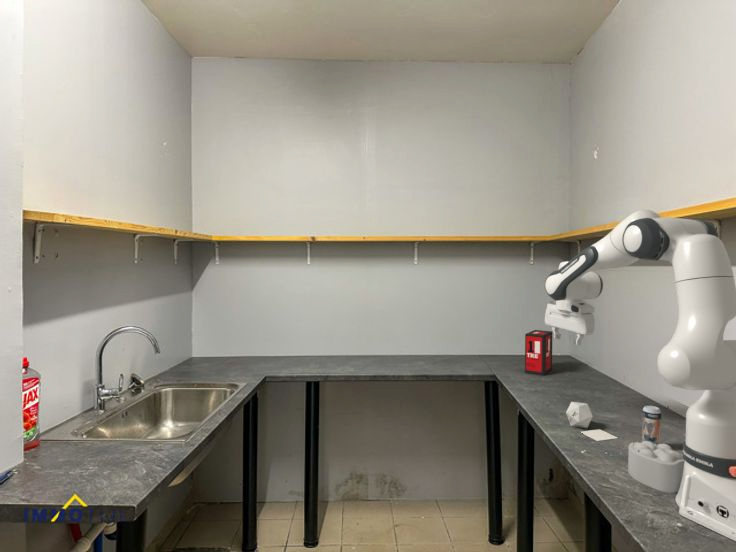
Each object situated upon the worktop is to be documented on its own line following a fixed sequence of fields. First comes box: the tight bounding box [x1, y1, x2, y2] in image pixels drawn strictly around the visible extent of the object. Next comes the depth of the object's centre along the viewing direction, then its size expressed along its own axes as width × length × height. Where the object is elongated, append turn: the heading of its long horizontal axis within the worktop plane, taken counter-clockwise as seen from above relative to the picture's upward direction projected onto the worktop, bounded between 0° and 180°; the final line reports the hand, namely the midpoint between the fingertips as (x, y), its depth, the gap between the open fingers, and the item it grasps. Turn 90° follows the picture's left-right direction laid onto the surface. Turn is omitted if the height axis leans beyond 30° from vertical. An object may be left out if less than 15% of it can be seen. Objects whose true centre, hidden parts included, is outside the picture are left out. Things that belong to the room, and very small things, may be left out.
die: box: [565, 401, 594, 429], centre depth 151 cm, size 8×9×10 cm
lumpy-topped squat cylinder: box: [627, 441, 684, 494], centre depth 115 cm, size 10×13×9 cm
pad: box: [580, 428, 619, 442], centre depth 143 cm, size 8×8×1 cm
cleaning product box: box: [524, 329, 553, 377], centre depth 226 cm, size 16×9×20 cm, turn 143°
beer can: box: [641, 405, 662, 445], centre depth 134 cm, size 5×5×12 cm
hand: (567, 341), depth 161 cm, fingers open, 8 cm apart
